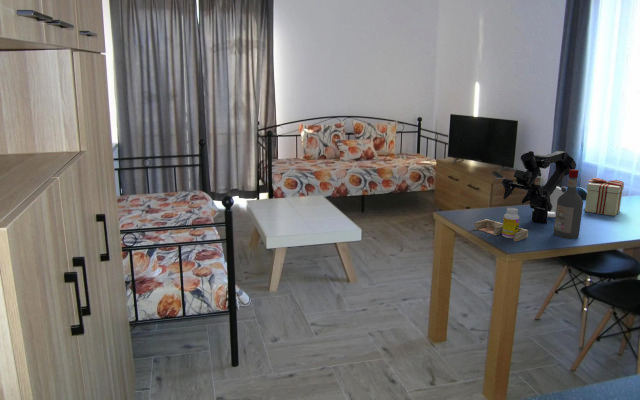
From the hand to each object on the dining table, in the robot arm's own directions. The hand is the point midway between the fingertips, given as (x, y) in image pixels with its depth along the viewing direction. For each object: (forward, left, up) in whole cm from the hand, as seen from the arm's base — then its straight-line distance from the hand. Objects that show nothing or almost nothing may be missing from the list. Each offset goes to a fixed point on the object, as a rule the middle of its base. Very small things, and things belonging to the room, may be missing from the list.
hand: (512, 200), depth 243 cm
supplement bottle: (0, +9, -15) cm, 17 cm away
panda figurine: (-20, -37, -15) cm, 44 cm away
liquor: (-24, -1, -15) cm, 28 cm away
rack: (+4, +6, -14) cm, 16 cm away
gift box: (-46, -54, -15) cm, 72 cm away
